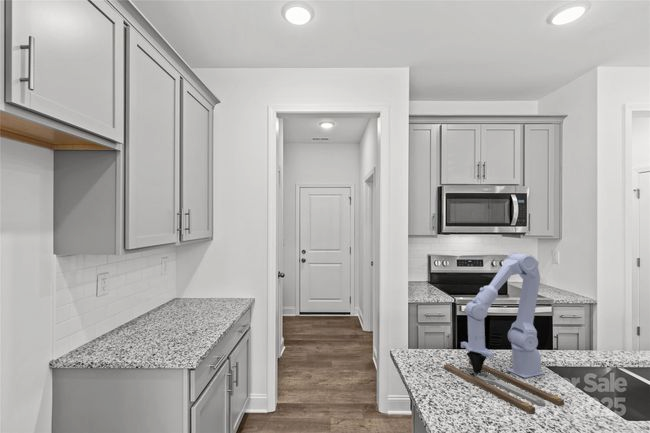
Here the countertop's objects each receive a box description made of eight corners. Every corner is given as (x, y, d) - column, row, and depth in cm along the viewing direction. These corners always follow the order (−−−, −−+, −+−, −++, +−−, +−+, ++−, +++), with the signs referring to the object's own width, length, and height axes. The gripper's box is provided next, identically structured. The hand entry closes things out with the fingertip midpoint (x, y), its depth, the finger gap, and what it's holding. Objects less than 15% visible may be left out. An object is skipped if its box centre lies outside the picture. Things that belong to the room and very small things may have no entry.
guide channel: (472, 363, 148) (472, 359, 148) (564, 405, 113) (564, 399, 113) (443, 368, 143) (443, 364, 143) (530, 414, 108) (529, 408, 108)
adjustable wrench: (547, 407, 113) (547, 401, 113) (531, 411, 110) (531, 405, 111) (486, 376, 136) (486, 371, 136) (472, 378, 134) (472, 373, 134)
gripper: (454, 331, 142) (455, 367, 142) (482, 342, 128) (483, 381, 128) (468, 329, 145) (469, 364, 144) (498, 339, 131) (499, 378, 131)
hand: (477, 372), depth 136 cm, fingers closed
